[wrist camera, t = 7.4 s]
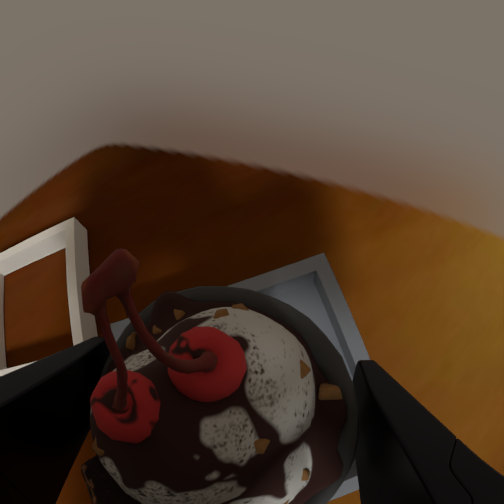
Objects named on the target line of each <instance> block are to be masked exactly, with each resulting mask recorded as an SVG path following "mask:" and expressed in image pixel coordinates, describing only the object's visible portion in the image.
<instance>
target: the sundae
mask: <svg viewBox="0 0 504 504" xmlns="http://www.w3.org/2000/svg"><path fill="white" fill-rule="evenodd" d="M139 264H140V262H139V261H138V259H136V258H135V257H134V256H133V255H132V254H131V253H130V252H129V251H127V250H126V249H122V248H121V249H115V250H114V251H113V252H112V253H111V254H110V255H109V256H108V257H107V258H106V259H105V261H104V262H103V263H102V264H101V265H100V266H99V267H98V268H97V269H96V270H95V271H94V272H92V273H91V274H90V275H89V276H88V277H87V278H86V279H85V280H84V281H83V282H82V285H81V294H82V305H83V311H84V313H90V314H92V315H94V316H95V318H96V319H97V321H98V324H99V326H100V329H101V332H102V334H103V337H104V339H105V342H106V344H107V347H108V349H109V352H110V354H109V356H108V358H107V360H106V362H105V365H104V367H103V370H102V373H101V378H100V380H99V382H98V384H97V385H96V387H95V389H94V391H93V393H92V395H91V398H90V406H91V411H90V426H91V433H92V438H93V445H92V449H93V450H94V451H95V452H96V453H97V455H96V456H95V457H93V458H92V459H90V460H88V461H87V462H85V463H84V464H83V465H81V471H82V474H83V477H84V480H85V482H86V485H87V489H88V492H89V495H90V498H91V500H92V502H93V504H327V503H328V502H329V500H330V499H331V498H332V497H333V496H334V495H335V493H336V492H337V490H338V489H339V487H340V486H341V485H342V483H343V482H344V480H345V478H346V476H347V474H348V472H349V470H350V468H351V466H352V464H353V461H354V459H355V454H356V449H357V444H358V439H359V417H360V410H359V406H358V402H357V397H356V393H355V389H354V385H353V382H352V380H351V377H350V375H349V372H348V370H347V367H346V365H345V363H344V360H343V358H342V356H341V355H340V353H339V352H338V351H337V349H336V348H335V347H334V345H333V344H332V343H331V341H330V340H329V339H328V337H327V336H326V335H325V334H324V333H323V332H322V331H321V330H320V329H319V327H318V326H317V325H316V324H315V323H314V322H313V321H312V320H311V319H310V318H309V317H307V316H306V315H304V314H303V313H301V312H300V311H298V310H297V309H295V308H294V307H292V306H291V305H289V304H286V303H284V302H282V301H280V300H278V299H276V298H274V297H272V296H269V295H266V294H263V293H260V292H256V291H253V290H250V289H244V288H236V287H228V286H198V287H194V288H190V289H186V290H182V291H178V292H171V291H168V292H164V293H162V294H161V295H160V296H159V297H158V298H157V299H156V301H153V302H152V303H151V304H150V305H149V306H147V307H146V308H145V309H144V310H142V311H141V312H140V313H138V311H137V308H136V305H135V303H134V300H133V298H132V295H131V285H132V284H133V283H134V282H135V281H136V273H137V270H138V267H139ZM114 296H117V297H118V298H119V300H120V301H121V303H122V305H123V307H124V309H125V311H126V313H127V315H128V318H129V320H130V321H131V322H130V323H129V324H128V325H127V326H126V327H125V329H124V330H123V332H122V334H121V335H120V337H119V338H118V340H117V342H116V341H115V338H114V336H113V333H112V330H111V328H110V325H109V322H108V318H107V313H106V308H105V306H106V302H107V299H109V298H111V297H114Z"/></svg>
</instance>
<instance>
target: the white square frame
mask: <svg viewBox="0 0 504 504" xmlns="http://www.w3.org/2000/svg"><path fill="white" fill-rule="evenodd" d="M63 248H66V272H67V289H68V302H69V313H70V322H71V330H72V338H73V345H76V344H79V343H81V342H83V341H86V340H88V339H90V338H93V337H96V336H97V337H98V335H97V328H96V322H95V316H94V315H92V314H90V313H84V311H83V305H82V294H81V285H82V282H83V281H84V280H85V279H86V278H87V277H88V276H89V275H90V270H89V257H88V241H87V229H86V228H85V227H84V226H83V225H82V224H81V223H80V222H79V221H78V220H77V219H76V218H75V217H73V218H71V219H68V220H66V221H64V222H62V223H60V224H58V225H55V226H53V227H51V228H49V229H47V230H45V231H43V232H41V233H39V234H37V235H35V236H33V237H31V238H29V239H27V240H25V241H23V242H21V243H19V244H17V245H15V246H13V247H11V248H9V249H7V250H6V251H4V252H2V253H0V376H3V375H5V374H7V373H10V372H12V371H15V370H17V369H19V368H22V367H24V366H27V365H29V364H31V363H34V362H31V363H27V364H23V365H19V366H15V367H11V368H7V365H6V354H5V340H4V312H3V297H4V276H5V275H7V274H9V273H11V272H13V271H15V270H17V269H19V268H21V267H24V266H26V265H28V264H30V263H32V262H34V261H37V260H39V259H41V258H43V257H45V256H48V255H50V254H52V253H54V252H57V251H59V250H61V249H63ZM35 362H36V361H35Z"/></svg>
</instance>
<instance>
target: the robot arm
mask: <svg viewBox="0 0 504 504" xmlns="http://www.w3.org/2000/svg"><path fill="white" fill-rule="evenodd" d="M109 354H110V352H109V349H108V347H107V344H106V342H105V339H104V338H103V337H97V336H96V337H93V338H90V339H88V340H86V341H83V342H81V343H79V344H76V345H74V346H72V347H69V348H67V349H64V350H62V351H60V352H57V353H55V354H53V355H50V356H48V357H46V358H43V359H41V360H38V361H36V362H34V363H31V364H29V365H27V366H24V367H22V368H19V369H17V370H15V371H12V372H10V373H7V374H5V375H3V376H0V504H56V501H57V499H58V497H59V494H60V492H61V490H62V488H63V485H64V483H65V481H66V479H67V476H68V474H69V472H70V470H71V468H72V466H73V463H74V461H75V459H76V457H77V455H78V453H79V451H80V448H81V446H82V444H83V442H84V440H85V438H86V436H87V434H88V432H89V430H90V428H91V426H90V411H91V406H90V398H91V395H92V393H93V391H94V389H95V387H96V385H97V384H98V382H99V380H100V378H101V373H102V370H103V367H104V365H105V362H106V360H107V358H108V356H109ZM352 382H353V385H354V389H355V393H356V397H357V402H358V406H359V410H360V417H359V439H358V444H357V449H356V454H355V462H356V469H357V476H358V484H359V492H360V500H361V504H504V476H503V475H501V474H500V473H499V472H497V471H496V470H495V469H493V468H492V467H491V466H489V465H488V464H487V463H486V462H484V461H483V460H482V459H481V458H479V457H478V456H477V455H476V454H475V453H474V452H473V451H471V450H470V449H469V448H468V447H467V446H466V445H465V444H464V443H463V442H462V441H460V440H459V439H456V436H455V435H454V434H453V433H452V432H451V431H450V430H448V429H447V428H446V427H445V426H444V425H443V424H442V423H441V422H440V421H439V420H438V419H437V418H436V417H434V416H433V415H432V414H431V413H430V412H429V411H428V410H427V409H426V408H425V407H424V406H423V405H422V404H420V403H419V402H418V401H417V400H416V399H415V398H414V397H413V396H412V395H411V394H410V393H409V392H408V391H406V390H405V389H404V388H403V387H402V386H401V385H400V384H399V383H398V382H397V381H396V380H395V379H394V378H392V377H391V376H390V375H389V374H388V373H387V372H386V371H385V370H384V369H383V368H382V367H381V366H379V365H378V364H377V363H376V362H375V361H374V360H359V361H358V362H357V364H356V367H355V372H354V376H353V380H352Z"/></svg>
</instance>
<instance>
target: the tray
mask: <svg viewBox="0 0 504 504" xmlns="http://www.w3.org/2000/svg"><path fill="white" fill-rule="evenodd" d="M228 287H236V288H244V289H250V290H253V291H256V292H260V293H263V294H266V295H269V296H272V297H274V298H276V299H278V300H280V301H282V302H284V303H286V304H289V305H291V306H292V307H294V308H295V309H297V310H298V311H300V312H301V313H303V314H304V315H306V316H307V317H309V318H310V319H311V320H312V321H313V322H314V323H315V324H316V325H317V326H318V327H319V329H320V330H321V331H322V332H323V333H324V334H325V335H326V336H327V337H328V339H329V340H330V341H331V343H332V344H333V345H334V347H335V348H336V349H337V351H338V352H339V353H340V355H341V356H342V358H343V360H344V363H345V365H346V367H347V370H348V372H349V375H350V377H351V380H353V376H354V372H355V367H356V364H357V362H358V361H359V360H370V358H369V355H368V353H367V350H366V348H365V345H364V343H363V341H362V338H361V336H360V333H359V331H358V328H357V326H356V324H355V321H354V319H353V317H352V314H351V312H350V310H349V307H348V305H347V303H346V300H345V298H344V296H343V293H342V291H341V289H340V287H339V284H338V282H337V280H336V278H335V276H334V273H333V271H332V269H331V267H330V265H329V262H328V260H327V258H326V256H325V254H324V253H321V254H318V255H315V256H313V257H310V258H307V259H304V260H301V261H298V262H296V263H293V264H290V265H287V266H284V267H281V268H278V269H275V270H273V271H270V272H267V273H264V274H261V275H258V276H255V277H252V278H249V279H246V280H243V281H241V282H238V283H235V284H232V285H229V286H228ZM130 322H131V321H130V320H129V318H128V319H124V320H121V321H118V322H115V323H112V324H110V325H111V330H112V333H113V336H114V338H115V341H116V342H117V340H118V338H119V337H120V335H121V334H122V332H123V330H124V329H125V327H126V326H127V325H128V324H129V323H130ZM358 489H359V484H358V476H357V469H356V462H355V459H354V461H353V464H352V466H351V468H350V470H349V472H348V474H347V476H346V478H345V480H344V482H343V483H342V485H341V486H340V487H339V489H338V490H337V492H336V493H335V495H334V496H333V497H332V498H331V499H330V500H333V499H336V498H338V497H341V496H343V495H346V494H348V493H351V492H353V491H356V490H358ZM330 500H329V501H330Z"/></svg>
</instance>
